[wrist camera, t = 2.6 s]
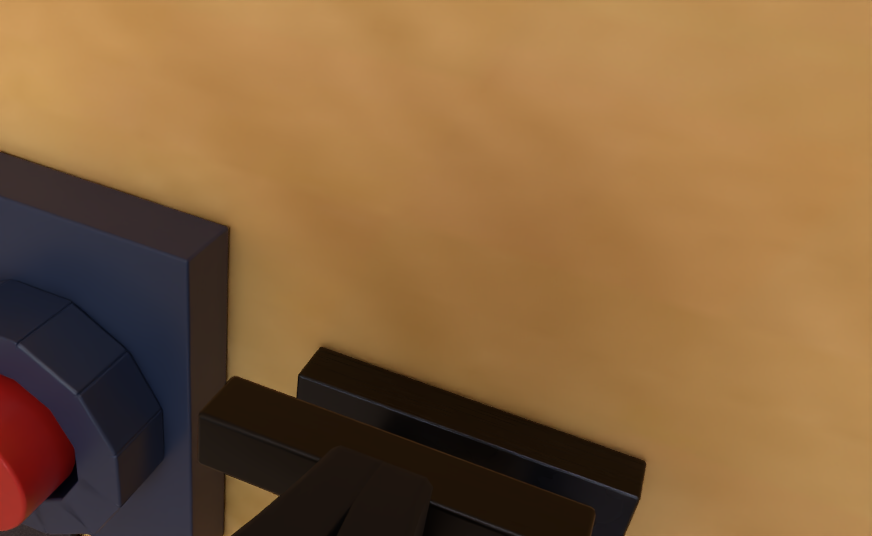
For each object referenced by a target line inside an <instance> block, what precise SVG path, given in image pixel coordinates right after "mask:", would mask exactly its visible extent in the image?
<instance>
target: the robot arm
mask: <svg viewBox="0 0 872 536" xmlns="http://www.w3.org/2000/svg"><path fill="white" fill-rule="evenodd" d="M432 490H433V486H432V484H431V483H430V481H429V480H428V479H427V477H424V476H421V475H419V474H416V473H413V472H411V471H408V470H406V469H403V468H400V467H398V466H395V465H392V464H390V463H387V462H384V461H382V460H379V459H376V458H374V457H371V456H368V455H366V454H363V453H360V452H358V451H355V450H352V449H350V448H347V447H344V446H342V445H340V446H337V447H334V448H332V449H331V450H330V451H329V452H328V453H327V454H326V455H325V456H323V457H322V458H321V459H320V460H319V461H318V462H317V463H316V464H315V465H314V466H313V467H312V468H311V469H310V470H309V471H307V472H306V473H305V474H304V475H303V476H302V477H301V478H300V479H299V480H298V481H296V482H295V483H294V484H293V485H292V486H291V487H290V488H288V489H287V490H286V491H285V492H284V493H283V494H282V495H280V496H279V497H278V498H277V499H276V500H274V501H273V502H272V503H271V504H270V505H268V506H267V507H266V508H265V509H264V510H263V511H261V512H260V513H259V514H258V515H257V516H255V517H254V518H253V519H252V520H250V521H249V522H248V523H246V524H245V525H244V526H243V527H241V528H240V529H239V530H238V531H236V532H235V533H234V534H233V535H231V536H423V531H424V527H425V522H426V518H427V513H428V509H429V504H430V500H431V495H432Z"/></svg>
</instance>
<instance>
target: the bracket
mask: <svg viewBox="0 0 872 536" xmlns="http://www.w3.org/2000/svg"><path fill="white" fill-rule="evenodd" d="M297 399H300V400H303V401H306V402H308V403H311V404H314V405H316V406H319V407H322V408H325V409H327V410H330V411H333V412H335V413H338V414H341V415H344V416H346V417H349V418H352V419H354V420H357V421H360V422H363V423H365V424H368V425H371V426H373V427H376V428H379V429H381V430H384V431H387V432H390V433H392V434H395V435H398V436H400V437H403V438H406V439H409V440H411V441H414V442H417V443H419V444H422V445H425V446H428V447H430V448H433V449H436V450H438V451H441V452H444V453H447V454H449V455H452V456H455V457H457V458H460V459H463V460H466V461H468V462H471V463H474V464H476V465H479V466H482V467H485V468H487V469H490V470H493V471H495V472H498V473H501V474H504V475H506V476H509V477H512V478H514V479H517V480H520V481H523V482H525V483H528V484H531V485H533V486H536V487H539V488H541V489H544V490H547V491H550V492H552V493H555V494H558V495H560V496H563V497H566V498H569V499H571V500H574V501H577V502H579V503H582V504H585V505H588V506H590V507H592V508H593V509H595V514H596V516H595V521H594V525H593V530H592V534H591V536H624V535H625V533H626V531H627V528H628V526H629V524H630V521H631V519H632V517H633V514H634V512H635V510H636V507H637V505H638V503H639V500H640V497H641V491H642V485H643V480H644V474H645V468H646V462H645V461H644V460H641V459H638V458H635V457H632V456H629V455H627V454H624V453H621V452H618V451H615V450H612V449H610V448H607V447H604V446H601V445H598V444H595V443H593V442H590V441H587V440H584V439H581V438H578V437H576V436H573V435H570V434H567V433H564V432H561V431H559V430H556V429H553V428H550V427H547V426H544V425H542V424H539V423H536V422H533V421H530V420H527V419H525V418H522V417H519V416H516V415H513V414H510V413H508V412H505V411H502V410H499V409H496V408H493V407H491V406H488V405H485V404H482V403H479V402H476V401H474V400H471V399H468V398H465V397H462V396H459V395H457V394H454V393H451V392H448V391H445V390H442V389H440V388H437V387H434V386H431V385H428V384H425V383H423V382H420V381H417V380H414V379H411V378H408V377H406V376H403V375H400V374H397V373H394V372H391V371H389V370H386V369H383V368H380V367H377V366H374V365H372V364H369V363H366V362H363V361H360V360H357V359H355V358H352V357H349V356H346V355H343V354H340V353H338V352H335V351H332V350H329V349H326V348H323V347H320V348H319V349H318V350H317V352H316V353H315V354H314V355H313V357H312V358H311V359H310V361H309V362H308V363H307V364H306V366H305V367H304V368H303V369H302V371H301V372H300V373H299V375H298V386H297Z"/></svg>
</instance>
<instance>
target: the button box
mask: <svg viewBox="0 0 872 536" xmlns="http://www.w3.org/2000/svg"><path fill="white" fill-rule="evenodd" d="M227 285H228V227H226V226H224V225H221V224H217V223H214V222H211V221H208V220H205V219H202V218H199V217H196V216H193V215H190V214H187V213H184V212H181V211H178V210H175V209H172V208H169V207H166V206H163V205H160V204H157V203H154V202H151V201H148V200H145V199H142V198H139V197H136V196H133V195H129V194H126V193H123V192H120V191H117V190H114V189H111V188H108V187H105V186H102V185H99V184H96V183H93V182H90V181H87V180H84V179H81V178H78V177H75V176H72V175H69V174H66V173H63V172H60V171H57V170H54V169H51V168H48V167H45V166H41V165H38V164H35V163H32V162H29V161H26V160H23V159H20V158H17V157H14V156H11V155H8V154H5V153H2V152H0V374H1V375H3V376H6V377H8V378H11V379H14V380H15V381H16V382H17V383H18V384H20V385H21V386H22V387H23V388H24V389H26V390H27V391H28V392H29V393H30V394H32V395H33V396H34V397H35V398H36V399H37V400H39V401H40V402H41V403H42V404H43V405H45V406H46V407H47V408H48V409H49V410H50V411H51V413H52V414H53V416H54V417H55V419H56V420H57V422H58V424H59V425H60V427H61V428H62V430H63V431H64V433H65V434H66V436H67V438H68V439H69V441H70V442H71V444H72V445H73V447H74V451H75V465H74V468H73V470H72V472H71V474H70V476H69V477H68V478H67V479H66V480H65V481H64V482H63V483H62V484H61V485H60V486H59V487H58V488H57V489H56V490H55V491H54V492H53V493H52V494H51V495H50V496H49V497H48V498H47V499H46V500H45V501H44V502H42V503H41V504H40V505H39V506H38V507H37V508H36V509H35V510H34V511H33V512H32V513H31V514H30V515H29V516H28V517H27V518H26V519H25V520H24V521H23V522H22V524H24V525H27V526H29V527H31V528H34V529H36V530H38V531H40V532H43V533H45V534H47V533H48V534H89V535H91V536H223V527H224V473H221V472H219V471H216V470H214V469H211V468H209V467H206V466H204V465H201V464H200V463H199V462H198V461H197V429H198V414H199V412H200V411H201V410H202V409H203V408H204V406H205V405H206V404H207V403H208V402H209V401H210V400H211V399H212V398H213V397H214V396H215V395H216V394H217V392H218V391H219V390H220V389H221V388H222V387H223V386H224V385H225V384H226V345H227Z"/></svg>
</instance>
